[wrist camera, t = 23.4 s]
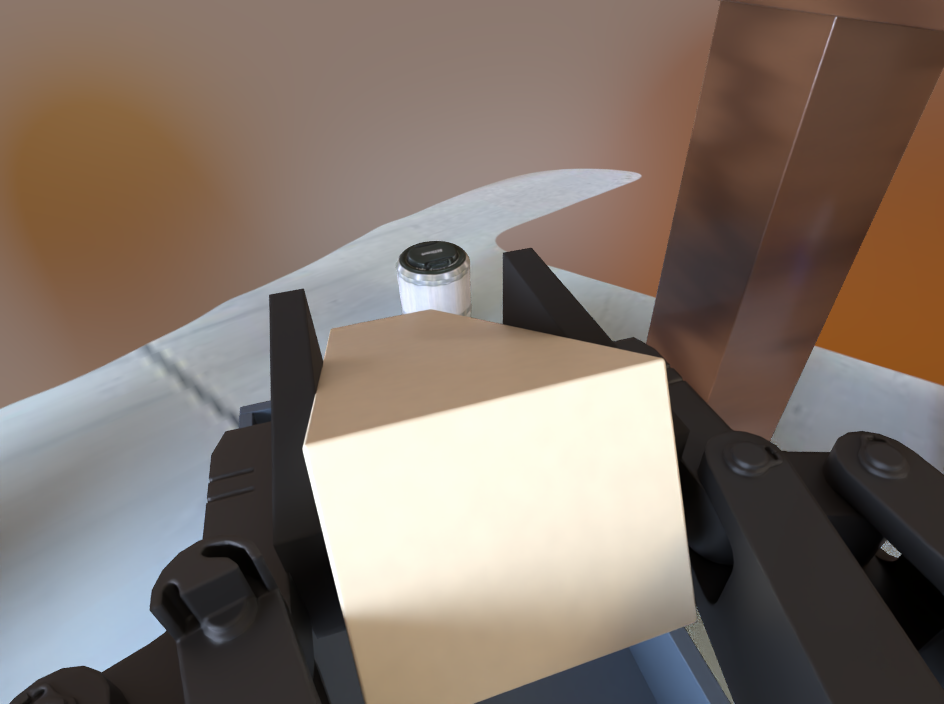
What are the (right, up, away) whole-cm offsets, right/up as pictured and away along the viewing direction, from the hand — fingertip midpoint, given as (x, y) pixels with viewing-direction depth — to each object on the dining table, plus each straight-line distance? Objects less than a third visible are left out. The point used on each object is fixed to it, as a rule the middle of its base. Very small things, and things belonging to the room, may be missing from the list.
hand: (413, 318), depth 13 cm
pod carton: (0, -4, +3) cm, 5 cm away
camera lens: (-2, +1, +36) cm, 37 cm away
